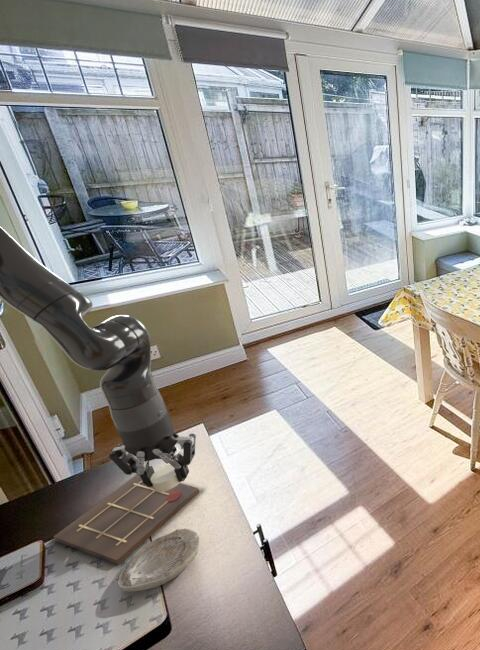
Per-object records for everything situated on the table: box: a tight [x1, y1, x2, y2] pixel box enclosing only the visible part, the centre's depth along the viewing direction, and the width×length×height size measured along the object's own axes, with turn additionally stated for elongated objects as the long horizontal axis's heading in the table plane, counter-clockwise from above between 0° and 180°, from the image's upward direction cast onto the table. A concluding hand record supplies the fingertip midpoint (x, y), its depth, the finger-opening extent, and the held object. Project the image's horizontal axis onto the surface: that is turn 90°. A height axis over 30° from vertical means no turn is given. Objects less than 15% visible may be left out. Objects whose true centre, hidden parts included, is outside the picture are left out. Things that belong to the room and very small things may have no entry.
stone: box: [150, 464, 181, 492], centre depth 85 cm, size 5×5×2 cm
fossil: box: [117, 528, 200, 592], centre depth 74 cm, size 10×12×3 cm
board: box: [53, 474, 200, 565], centre depth 83 cm, size 16×16×1 cm
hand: (168, 480), depth 85 cm, fingers closed on stone, 4 cm apart
